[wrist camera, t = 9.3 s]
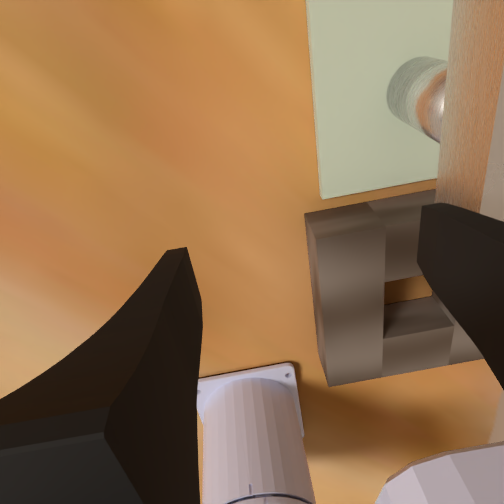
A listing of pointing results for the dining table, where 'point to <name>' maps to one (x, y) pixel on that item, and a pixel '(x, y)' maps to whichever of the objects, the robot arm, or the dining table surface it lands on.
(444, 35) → the pad
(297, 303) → the dining table surface
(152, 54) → the dining table surface
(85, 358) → the robot arm
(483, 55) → the t-key
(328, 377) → the block
